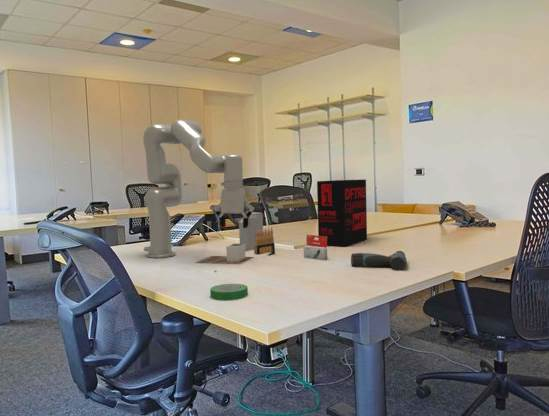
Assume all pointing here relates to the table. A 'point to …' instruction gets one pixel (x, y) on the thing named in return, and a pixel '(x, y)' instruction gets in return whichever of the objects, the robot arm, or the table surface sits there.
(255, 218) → the fuel canister
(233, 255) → the grey block
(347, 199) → the product box
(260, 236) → the ammunition clip
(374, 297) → the table surface
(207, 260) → the board
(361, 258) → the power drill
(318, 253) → the ink cartridge box
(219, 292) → the tape roll
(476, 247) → the table surface
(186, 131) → the robot arm
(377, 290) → the table surface
